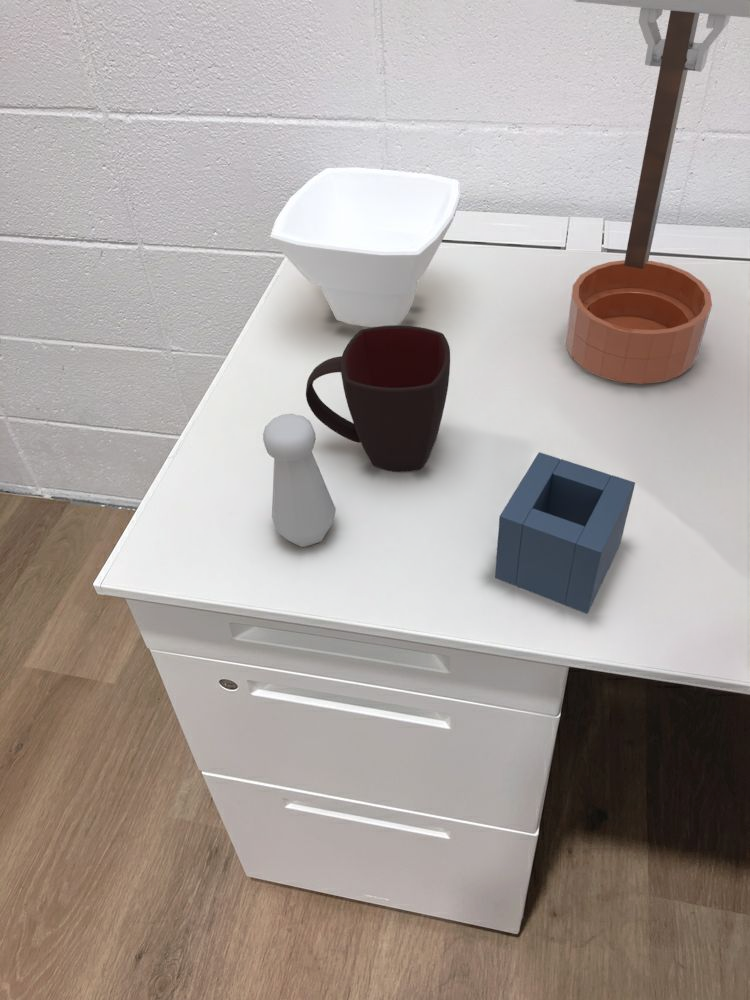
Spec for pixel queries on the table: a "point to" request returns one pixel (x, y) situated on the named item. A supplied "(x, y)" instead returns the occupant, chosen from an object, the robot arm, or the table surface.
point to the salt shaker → (297, 481)
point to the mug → (389, 393)
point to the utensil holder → (562, 530)
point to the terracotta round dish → (637, 321)
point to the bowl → (366, 237)
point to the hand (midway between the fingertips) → (674, 66)
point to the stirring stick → (660, 135)
